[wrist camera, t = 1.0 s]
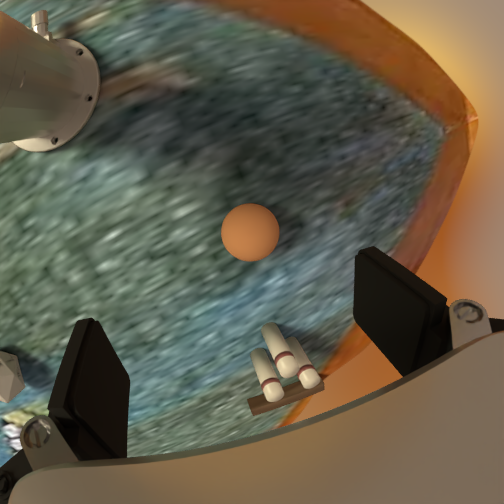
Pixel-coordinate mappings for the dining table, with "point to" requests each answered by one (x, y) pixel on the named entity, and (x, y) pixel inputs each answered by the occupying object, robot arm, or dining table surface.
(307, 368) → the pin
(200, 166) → the dining table surface
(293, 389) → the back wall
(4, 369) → the die
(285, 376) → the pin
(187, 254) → the dining table surface
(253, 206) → the ball
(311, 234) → the dining table surface
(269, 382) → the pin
